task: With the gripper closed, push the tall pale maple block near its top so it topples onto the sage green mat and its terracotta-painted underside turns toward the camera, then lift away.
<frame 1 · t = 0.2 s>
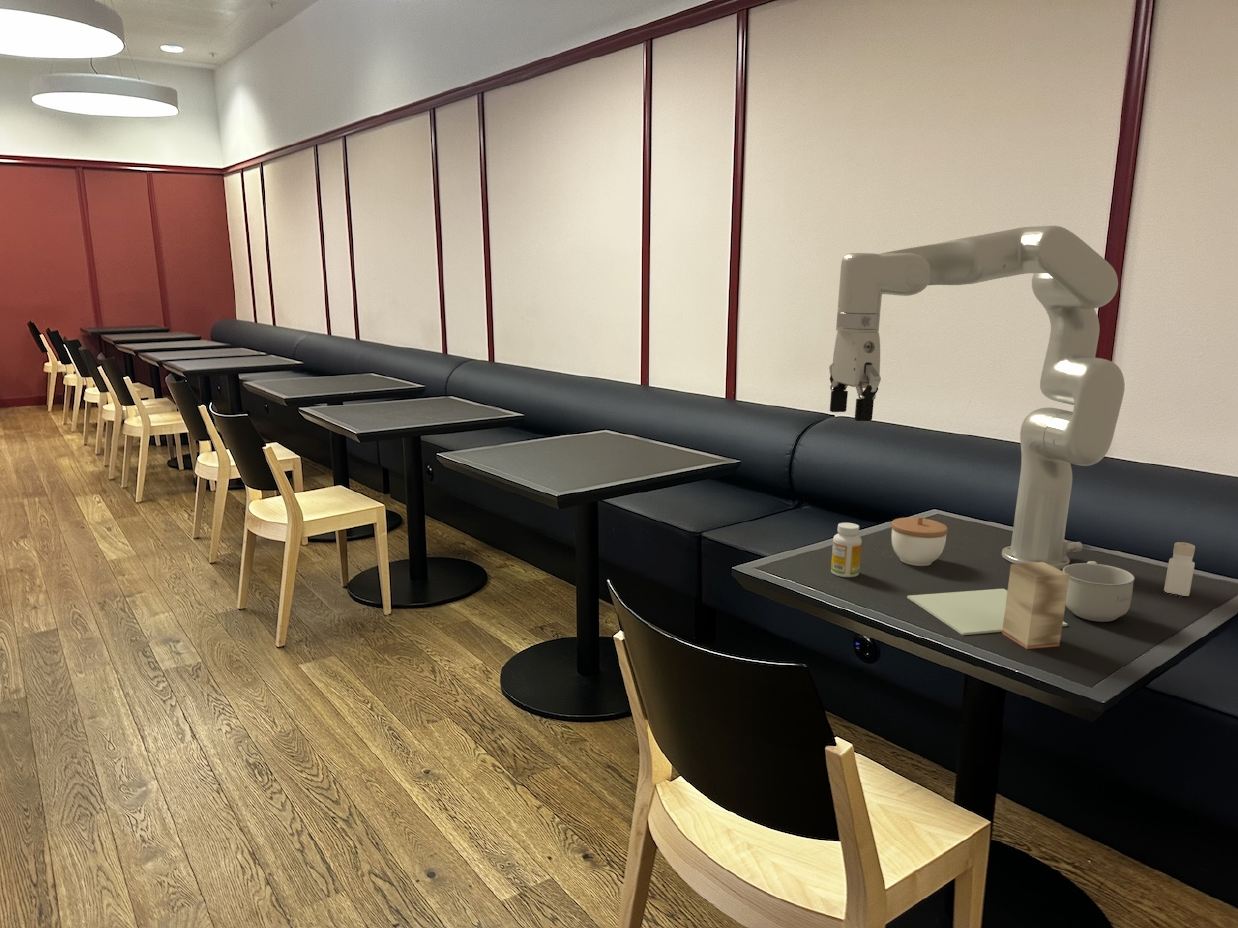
hand: (850, 416, 160), 31 cm above the table, tool pointing down, fingers open, 9 cm apart
sage mat: (984, 611, 150), on the table
maple block: (1030, 639, 139), on the table
pepper shaker: (1176, 594, 161), on the table
supplement bottle: (844, 574, 168), on the table
teacup: (1092, 613, 151), on the table
lidded jar: (915, 562, 176), on the table
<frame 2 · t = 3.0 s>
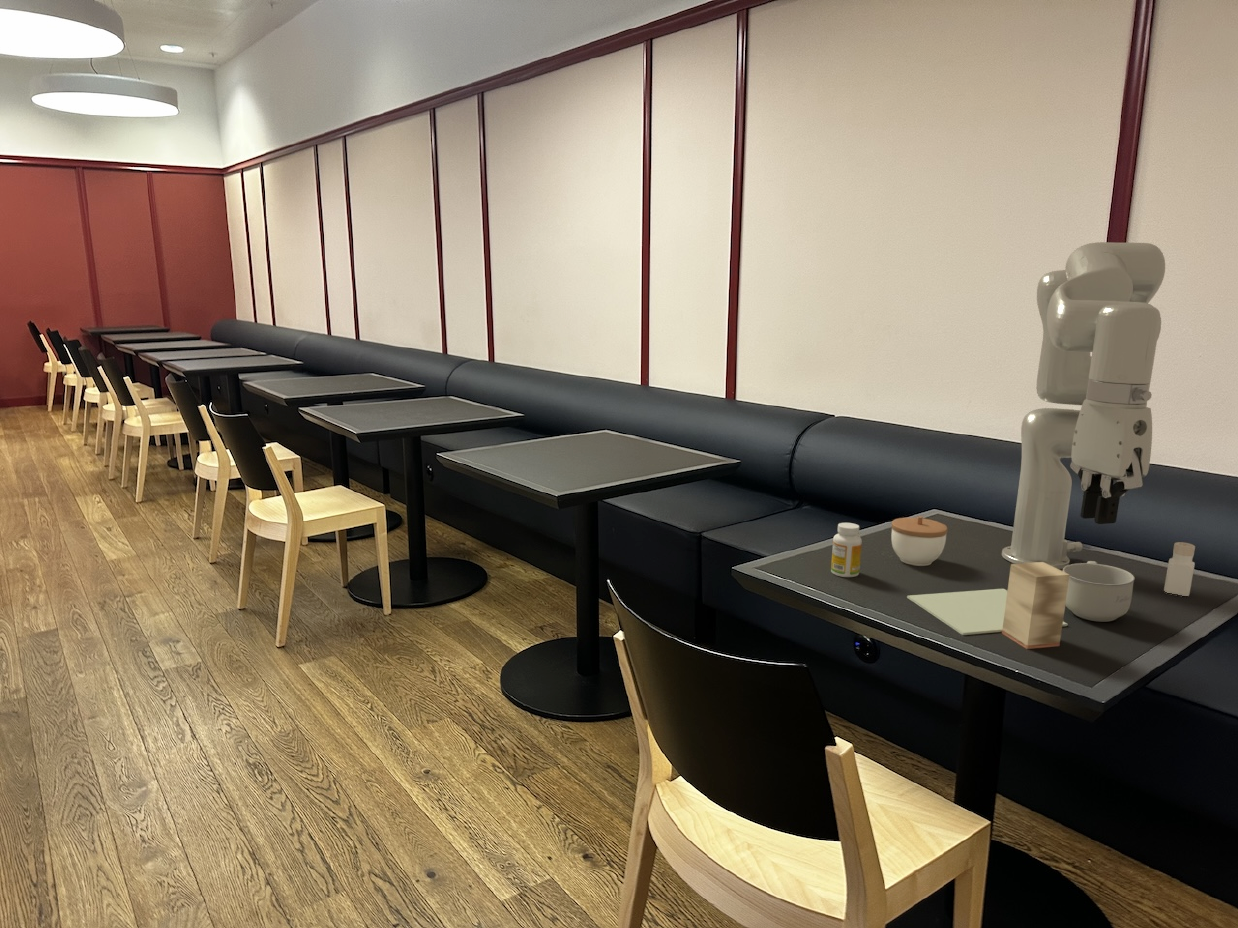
hand: (1097, 519, 125), 23 cm above the table, tool pointing down, fingers closed
nothing on the table moved.
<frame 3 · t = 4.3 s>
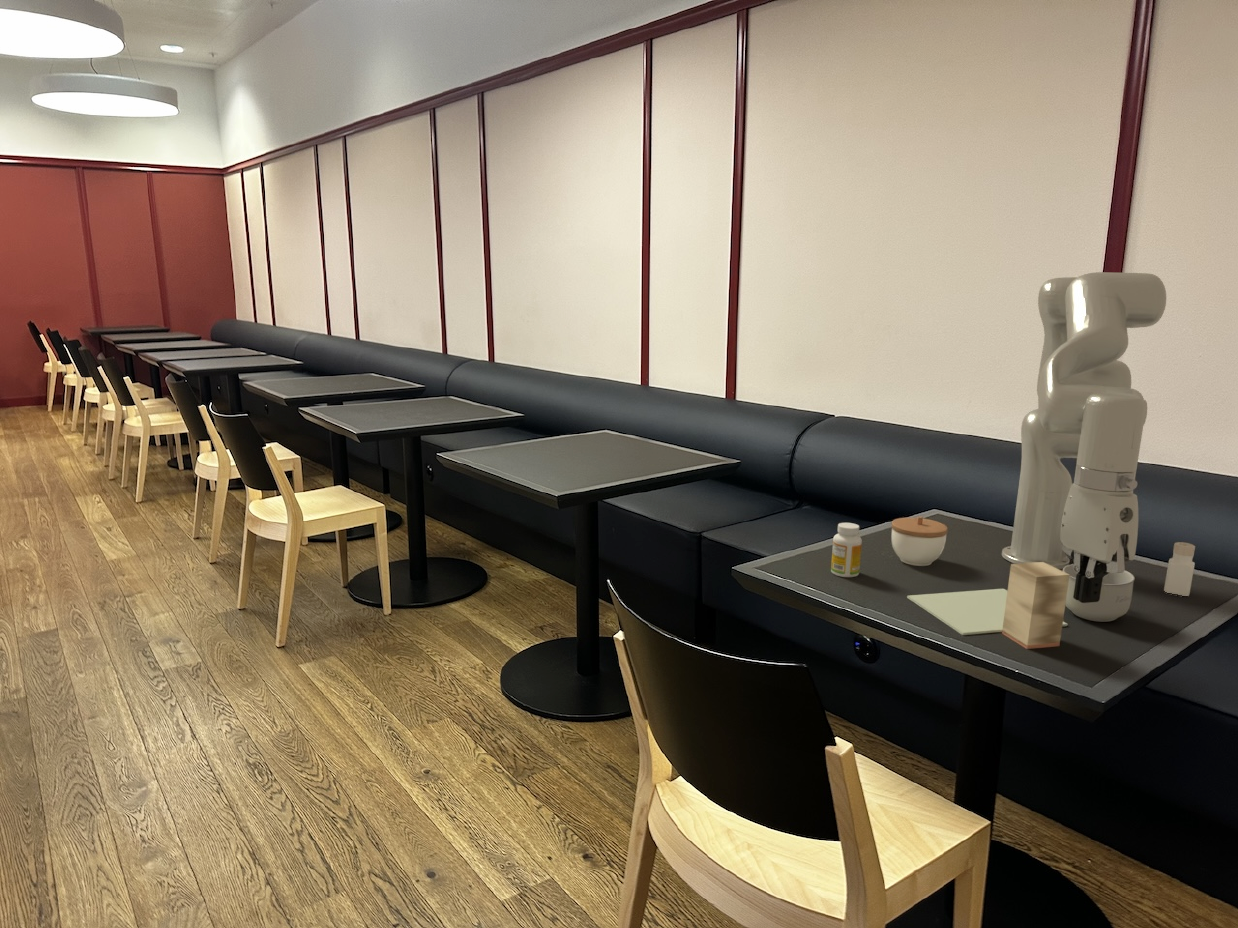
hand: (1086, 600, 127), 11 cm above the table, tool pointing down, fingers closed
nothing on the table moved.
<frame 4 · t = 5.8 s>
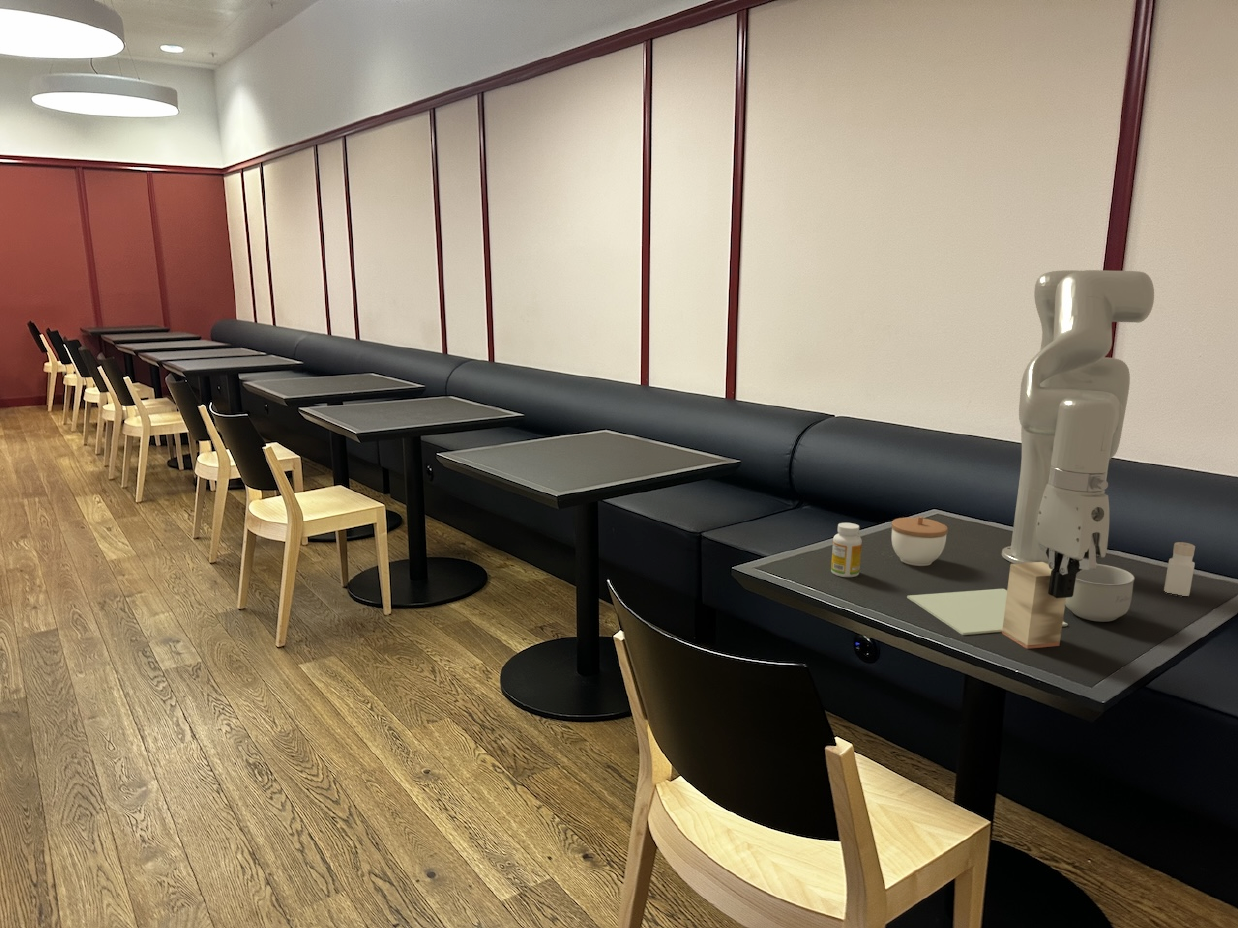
hand: (1060, 595, 132), 9 cm above the table, tool pointing down, fingers closed
maple block: (1030, 639, 139), on the table, touching gripper
everything else where it was.
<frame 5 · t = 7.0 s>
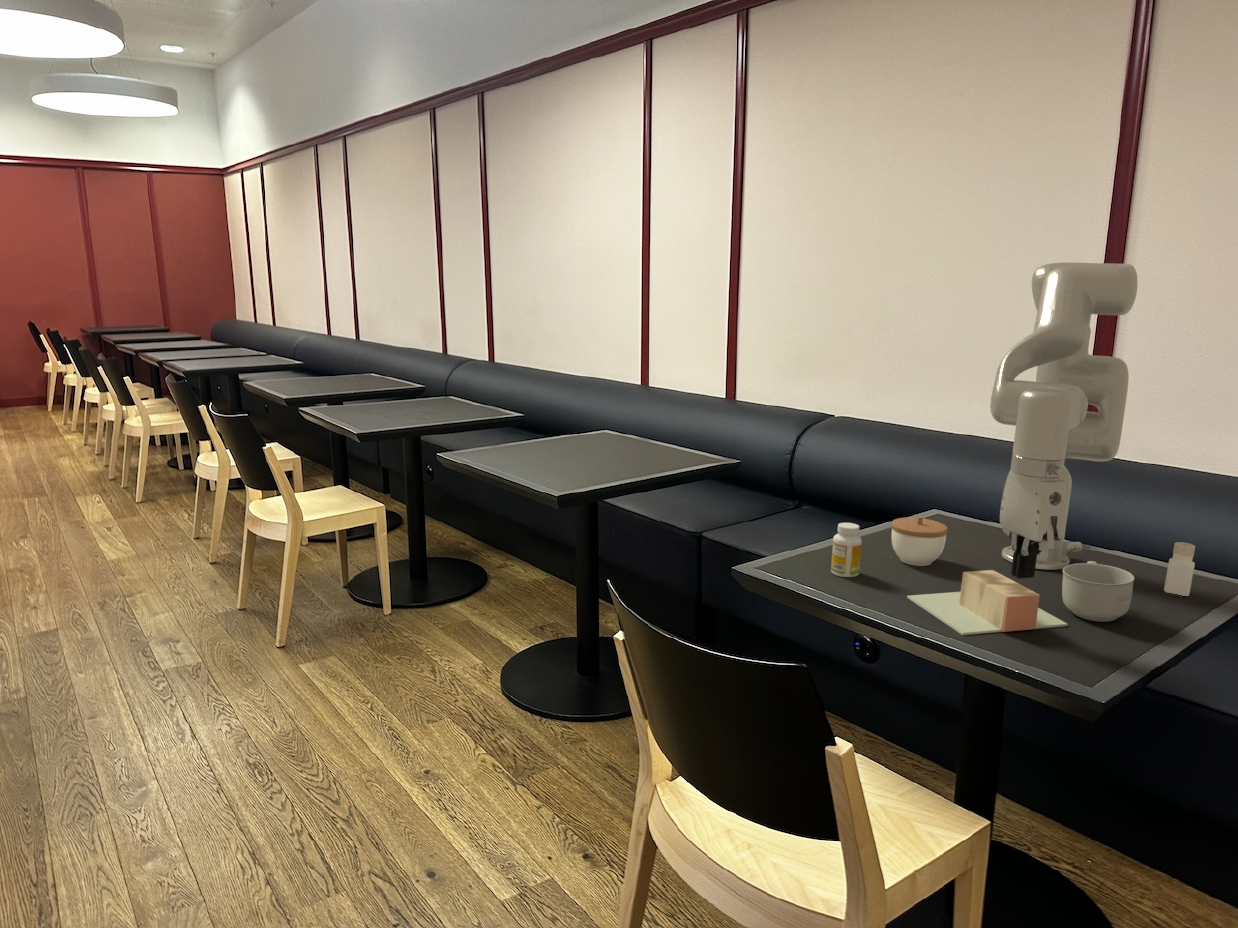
hand: (1022, 576, 141), 9 cm above the table, tool pointing down, fingers closed
maple block: (1021, 613, 141), point 3 cm above the table, tilted 90°, touching sage mat
everything else where it was.
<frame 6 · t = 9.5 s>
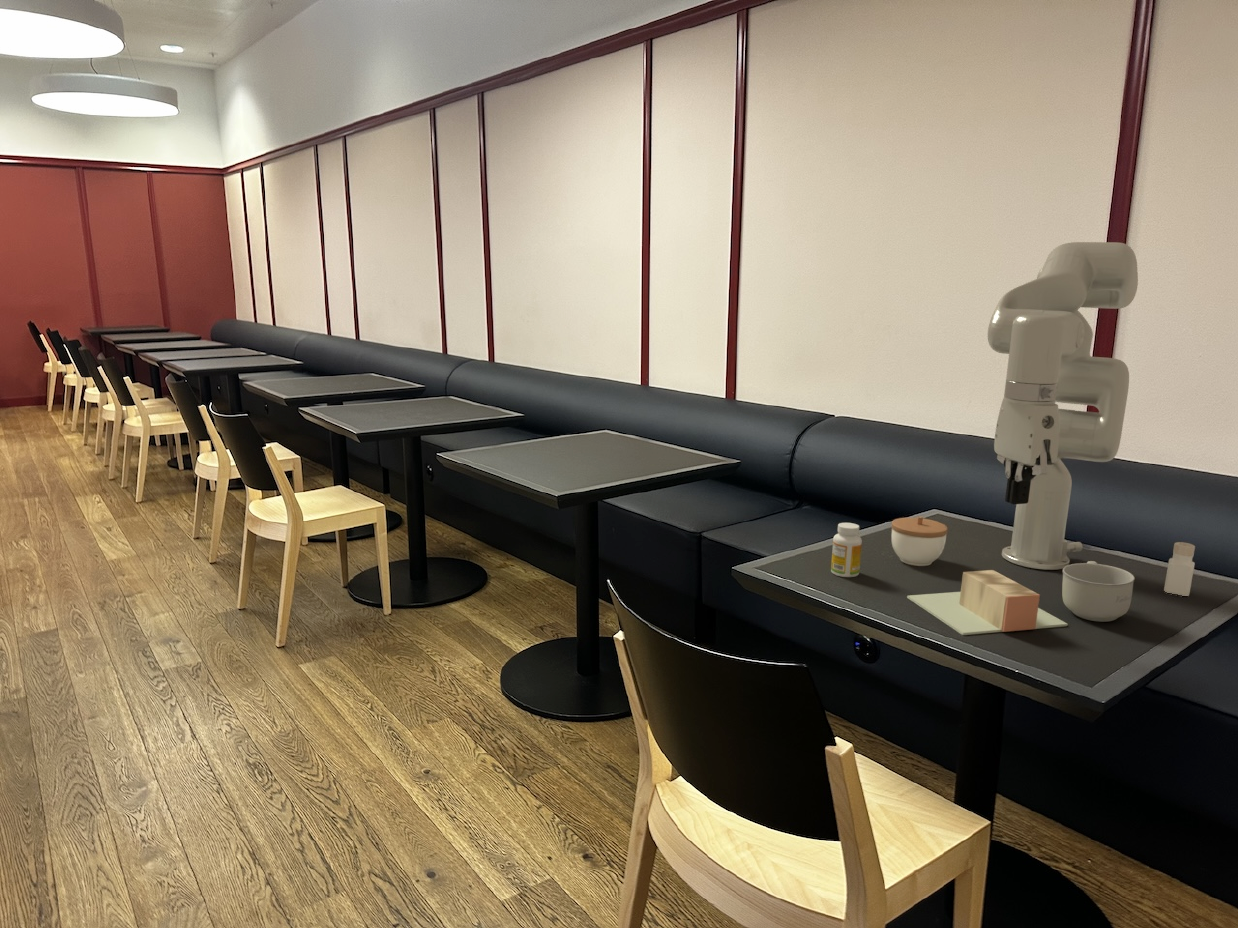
hand: (1016, 502, 142), 21 cm above the table, tool pointing down, fingers closed
nothing on the table moved.
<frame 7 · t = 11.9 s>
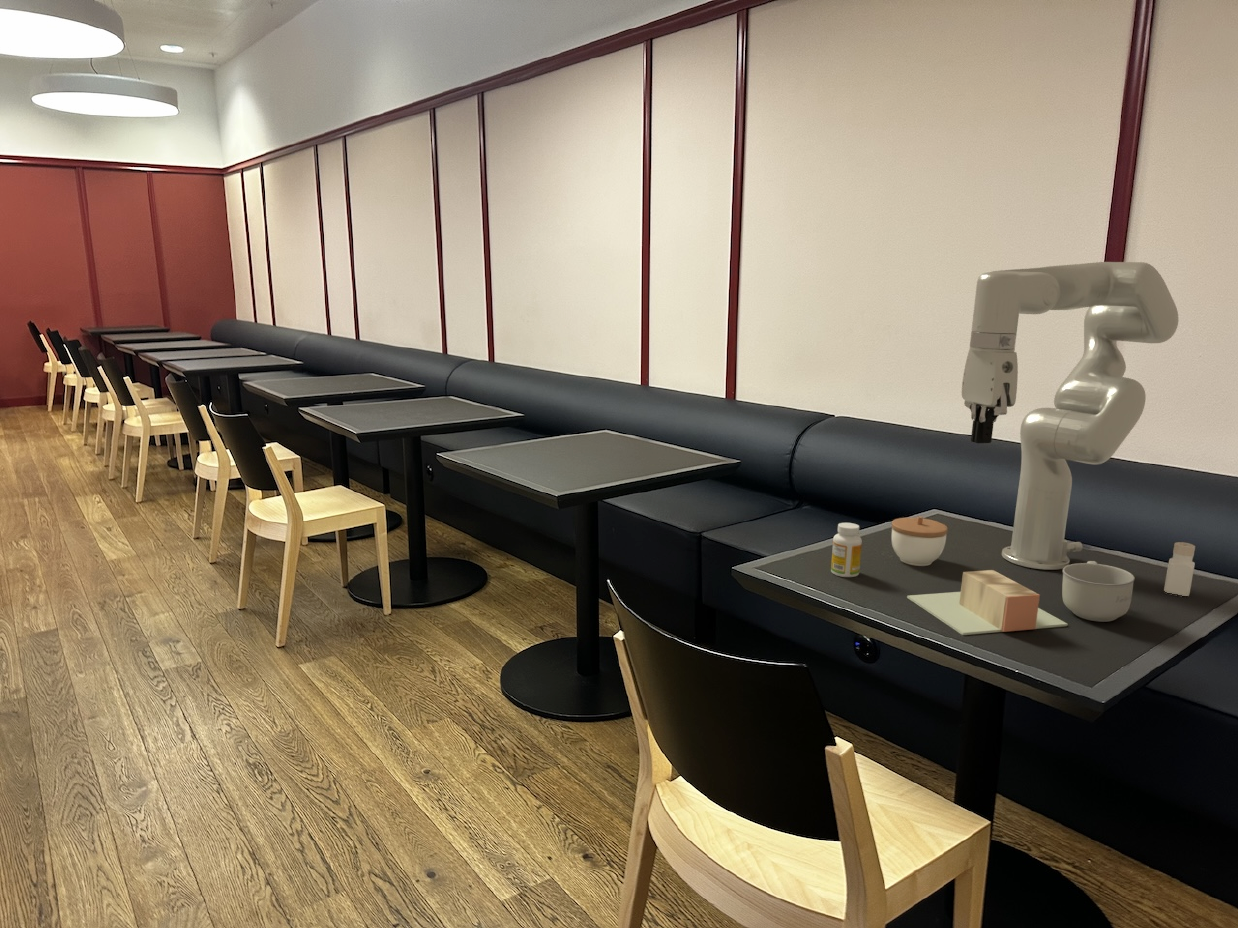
hand: (980, 442, 159), 27 cm above the table, tool pointing down, fingers closed
nothing on the table moved.
at the end: maple block tilted 90°; maple block inside the target area (0.4 cm from its centre), point 3.4 cm above the table; maple block touching sage mat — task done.
